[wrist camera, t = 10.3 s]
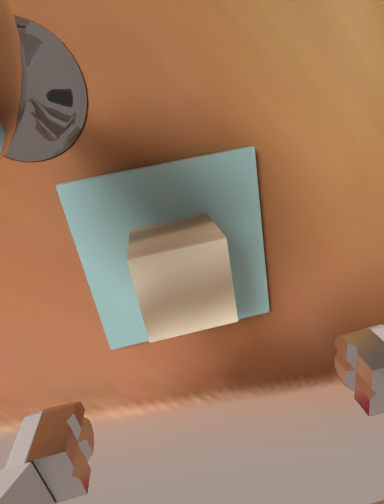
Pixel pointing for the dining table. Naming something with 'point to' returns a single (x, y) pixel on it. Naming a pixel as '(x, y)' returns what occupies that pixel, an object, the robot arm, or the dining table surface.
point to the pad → (158, 211)
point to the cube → (181, 276)
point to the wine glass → (37, 91)
